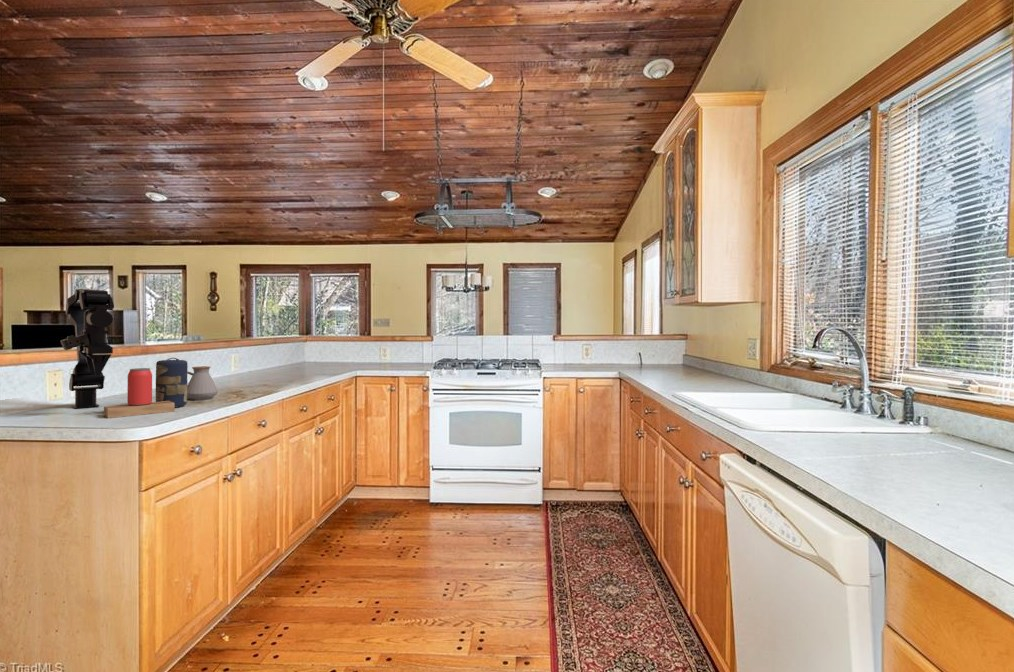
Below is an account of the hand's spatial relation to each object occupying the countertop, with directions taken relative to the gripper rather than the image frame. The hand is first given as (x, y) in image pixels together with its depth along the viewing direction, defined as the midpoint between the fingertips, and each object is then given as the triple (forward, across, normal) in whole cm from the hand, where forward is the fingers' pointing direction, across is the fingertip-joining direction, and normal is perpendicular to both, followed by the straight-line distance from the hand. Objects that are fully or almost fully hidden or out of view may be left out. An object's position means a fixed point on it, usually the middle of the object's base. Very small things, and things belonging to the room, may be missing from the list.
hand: (94, 374), depth 161 cm
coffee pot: (+13, -14, +31) cm, 37 cm away
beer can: (+10, +11, +10) cm, 18 cm away
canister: (+13, +3, +21) cm, 25 cm away
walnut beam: (+13, +11, +10) cm, 20 cm away
